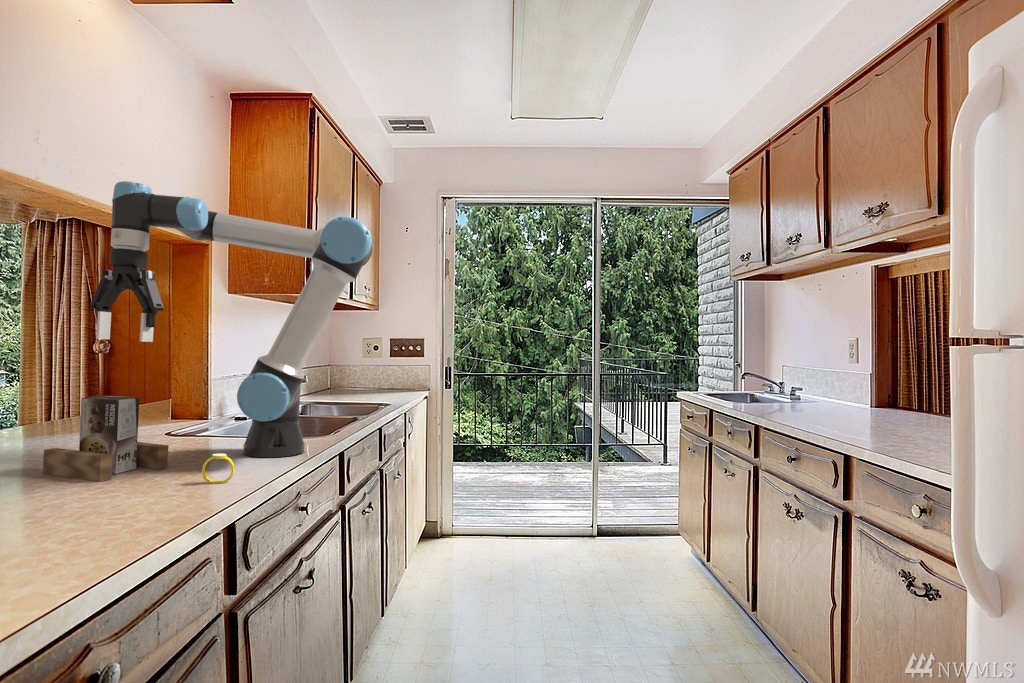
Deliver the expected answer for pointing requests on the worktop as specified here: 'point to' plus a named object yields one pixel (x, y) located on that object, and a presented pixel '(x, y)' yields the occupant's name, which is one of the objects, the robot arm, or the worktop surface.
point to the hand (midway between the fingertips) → (124, 340)
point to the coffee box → (111, 429)
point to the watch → (218, 456)
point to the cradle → (99, 462)
